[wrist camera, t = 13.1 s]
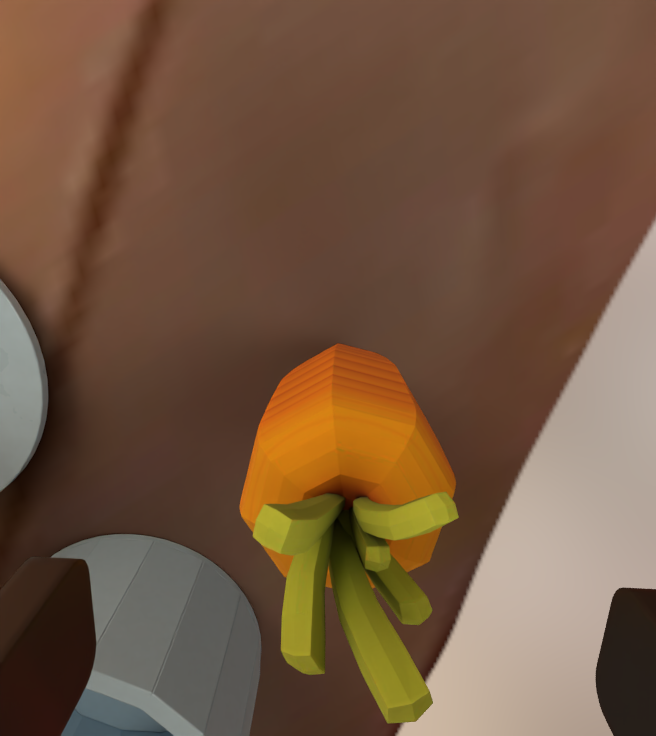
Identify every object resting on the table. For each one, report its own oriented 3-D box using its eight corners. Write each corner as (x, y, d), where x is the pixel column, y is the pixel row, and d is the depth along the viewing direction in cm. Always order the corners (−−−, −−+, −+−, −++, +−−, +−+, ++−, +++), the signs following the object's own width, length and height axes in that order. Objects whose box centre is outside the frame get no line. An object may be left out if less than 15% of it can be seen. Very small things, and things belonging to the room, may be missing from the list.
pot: (2, 527, 25) (-134, 656, 18) (262, 540, 25) (230, 675, 18) (30, 729, 28) (-74, 906, 21) (260, 742, 28) (233, 924, 21)
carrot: (273, 314, 22) (142, 527, 8) (400, 297, 22) (515, 486, 7) (293, 431, 23) (213, 800, 9) (412, 417, 23) (530, 775, 9)
